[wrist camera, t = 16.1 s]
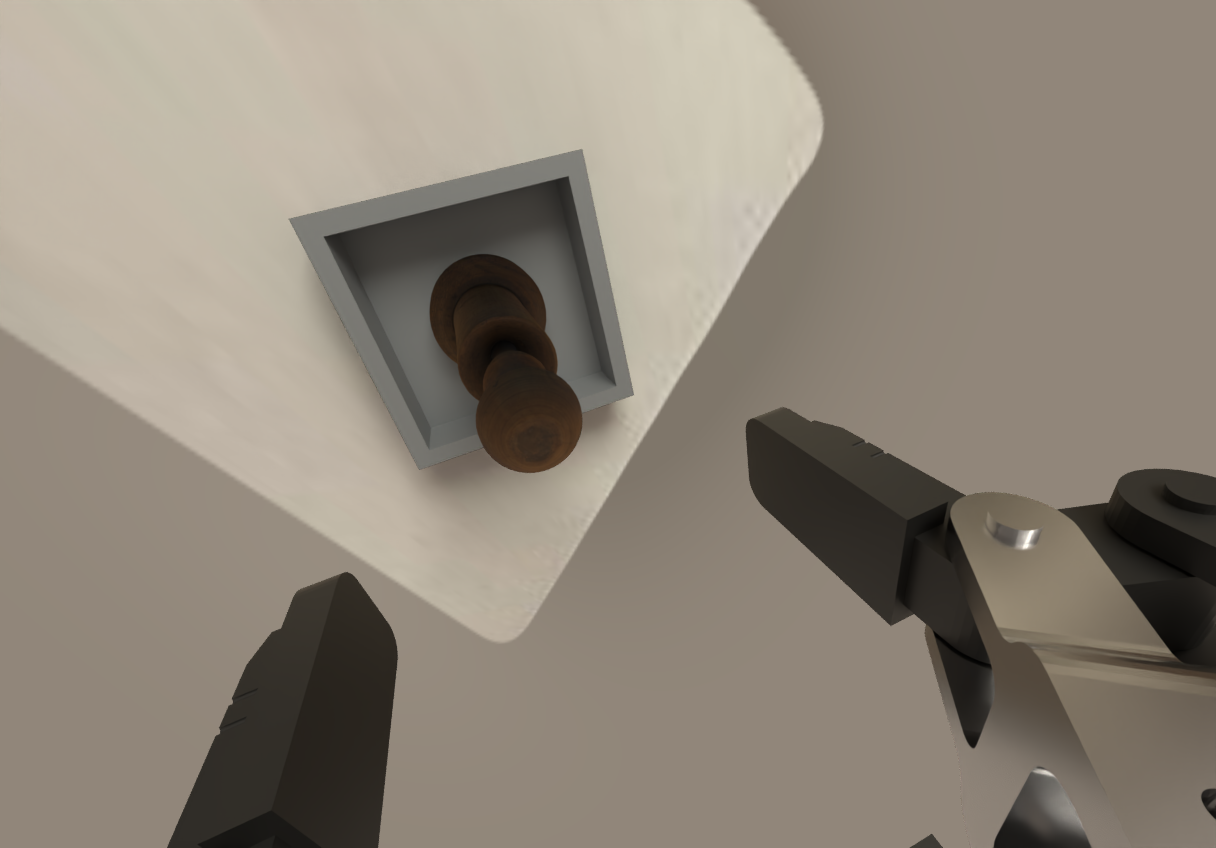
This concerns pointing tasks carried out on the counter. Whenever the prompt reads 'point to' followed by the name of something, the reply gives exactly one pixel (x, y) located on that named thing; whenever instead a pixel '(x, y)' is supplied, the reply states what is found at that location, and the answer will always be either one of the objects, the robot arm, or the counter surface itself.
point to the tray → (436, 238)
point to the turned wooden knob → (506, 361)
